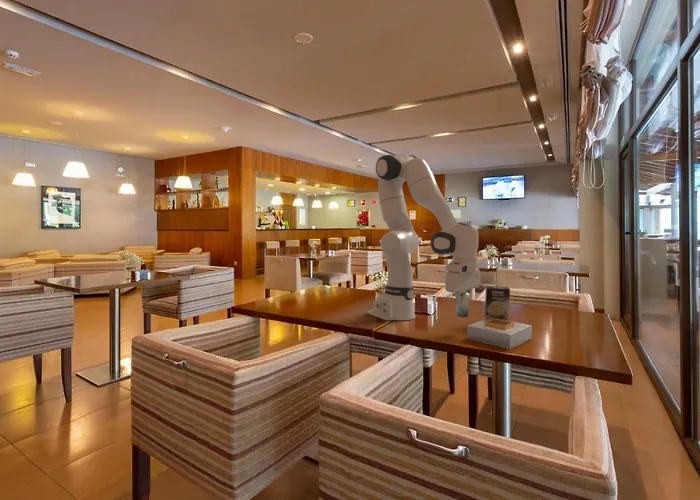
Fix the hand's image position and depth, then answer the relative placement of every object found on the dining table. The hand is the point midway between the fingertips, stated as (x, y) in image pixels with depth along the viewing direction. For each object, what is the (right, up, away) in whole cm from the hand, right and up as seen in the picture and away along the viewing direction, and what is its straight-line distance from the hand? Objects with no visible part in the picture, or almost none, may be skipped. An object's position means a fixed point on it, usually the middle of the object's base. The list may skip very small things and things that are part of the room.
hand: (462, 301), depth 147 cm
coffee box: (+18, -12, +13) cm, 25 cm away
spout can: (-1, -6, +1) cm, 6 cm away
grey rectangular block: (+12, -13, -6) cm, 18 cm away
